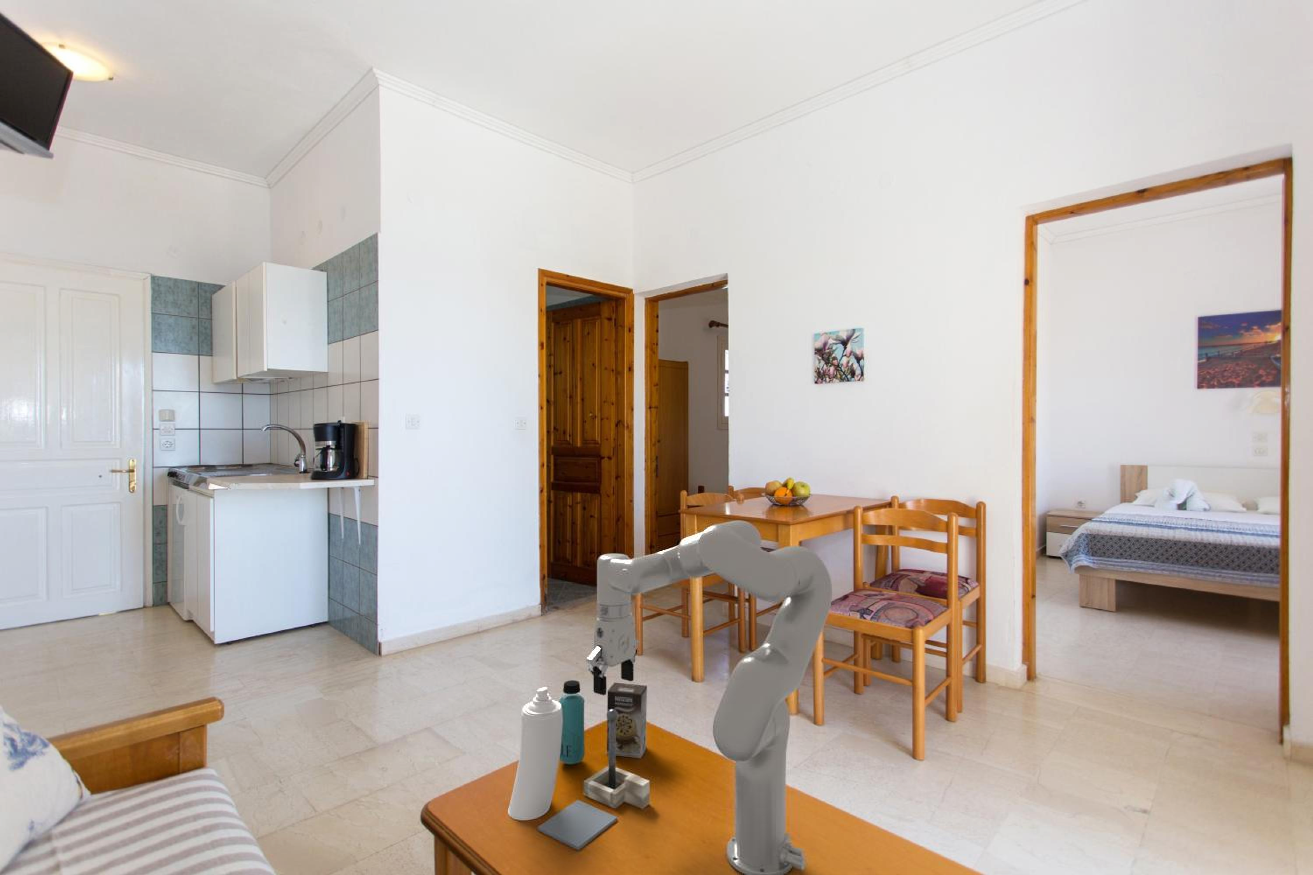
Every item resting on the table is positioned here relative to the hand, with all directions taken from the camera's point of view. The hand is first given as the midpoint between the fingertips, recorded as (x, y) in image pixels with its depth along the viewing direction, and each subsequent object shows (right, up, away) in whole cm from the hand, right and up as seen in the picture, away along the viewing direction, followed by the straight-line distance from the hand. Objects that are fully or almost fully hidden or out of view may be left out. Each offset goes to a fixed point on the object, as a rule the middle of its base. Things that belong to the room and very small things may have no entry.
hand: (613, 686), depth 142 cm
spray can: (-17, -24, -4) cm, 30 cm away
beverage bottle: (-11, -24, +13) cm, 30 cm away
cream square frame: (+2, -24, -1) cm, 24 cm away
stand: (-1, -24, +1) cm, 24 cm away
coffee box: (+2, -24, +20) cm, 31 cm away
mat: (-7, -24, -11) cm, 27 cm away
